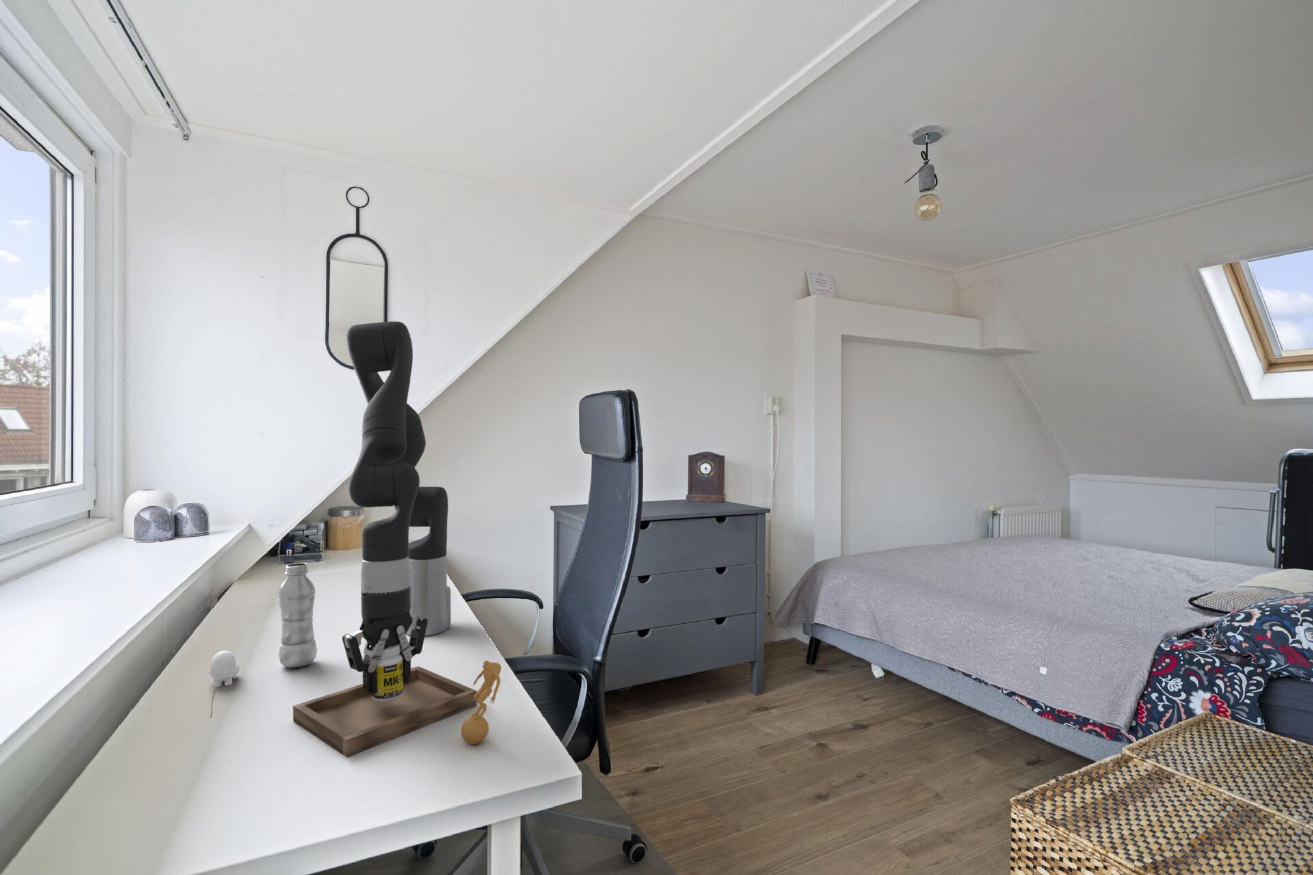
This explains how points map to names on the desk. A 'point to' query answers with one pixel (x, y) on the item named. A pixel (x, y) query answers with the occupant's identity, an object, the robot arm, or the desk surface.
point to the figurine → (481, 704)
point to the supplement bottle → (389, 675)
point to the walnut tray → (381, 712)
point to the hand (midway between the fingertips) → (387, 687)
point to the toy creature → (224, 668)
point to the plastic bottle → (297, 617)
